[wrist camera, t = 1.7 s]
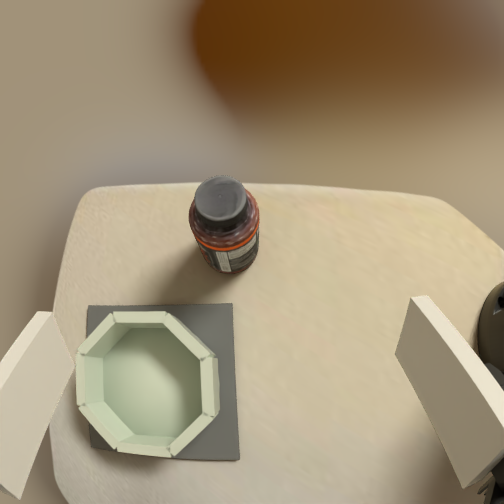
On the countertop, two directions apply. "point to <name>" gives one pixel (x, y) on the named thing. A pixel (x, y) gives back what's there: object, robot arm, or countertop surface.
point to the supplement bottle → (225, 224)
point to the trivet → (222, 344)
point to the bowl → (146, 383)
